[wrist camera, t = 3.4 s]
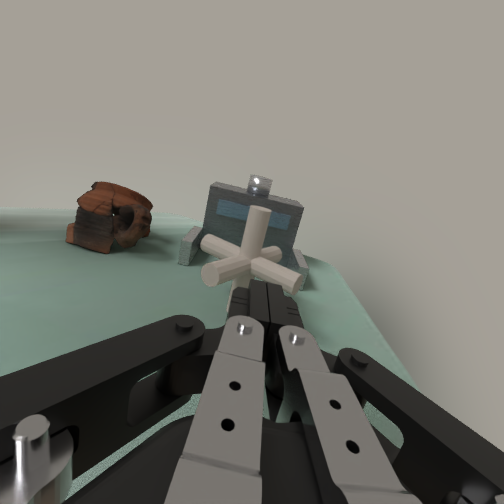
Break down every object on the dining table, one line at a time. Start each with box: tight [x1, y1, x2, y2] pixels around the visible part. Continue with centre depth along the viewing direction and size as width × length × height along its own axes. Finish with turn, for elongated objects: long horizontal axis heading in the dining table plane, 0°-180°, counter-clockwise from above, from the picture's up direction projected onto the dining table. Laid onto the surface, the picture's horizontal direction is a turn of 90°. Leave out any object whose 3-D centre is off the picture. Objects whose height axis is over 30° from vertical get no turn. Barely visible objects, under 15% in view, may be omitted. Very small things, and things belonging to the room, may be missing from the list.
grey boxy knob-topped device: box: [178, 175, 309, 291], centre depth 38 cm, size 15×13×11 cm
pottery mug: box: [66, 182, 153, 254], centre depth 34 cm, size 12×10×8 cm
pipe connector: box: [201, 205, 303, 312], centre depth 25 cm, size 10×10×10 cm
